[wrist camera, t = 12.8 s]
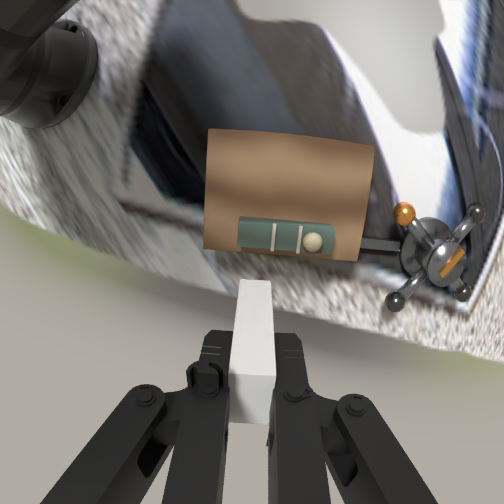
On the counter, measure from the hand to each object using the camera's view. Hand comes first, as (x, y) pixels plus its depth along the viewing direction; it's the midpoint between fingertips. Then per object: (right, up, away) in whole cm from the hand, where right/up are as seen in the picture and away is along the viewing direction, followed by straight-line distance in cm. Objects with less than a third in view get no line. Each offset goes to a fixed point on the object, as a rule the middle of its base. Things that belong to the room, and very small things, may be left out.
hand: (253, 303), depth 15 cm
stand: (+4, +9, +17) cm, 20 cm away
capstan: (+22, +3, +18) cm, 28 cm away
